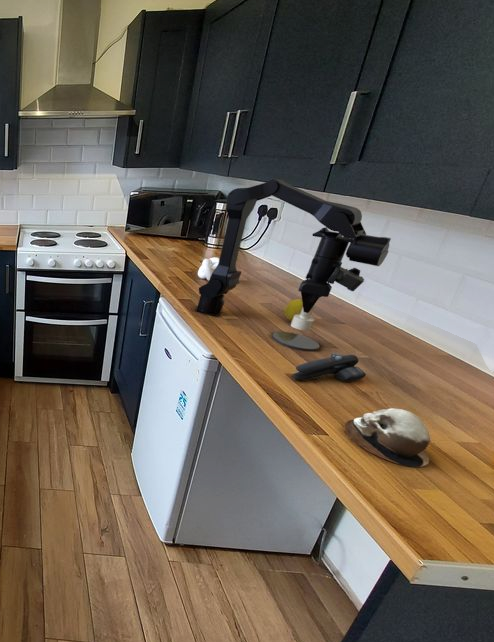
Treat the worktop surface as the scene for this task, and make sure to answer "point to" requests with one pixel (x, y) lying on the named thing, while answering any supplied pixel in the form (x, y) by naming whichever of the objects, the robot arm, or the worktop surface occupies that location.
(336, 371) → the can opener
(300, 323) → the pestle
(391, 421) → the skull
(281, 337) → the coaster
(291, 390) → the worktop surface
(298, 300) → the lemon
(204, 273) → the white rounded lump
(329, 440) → the worktop surface
